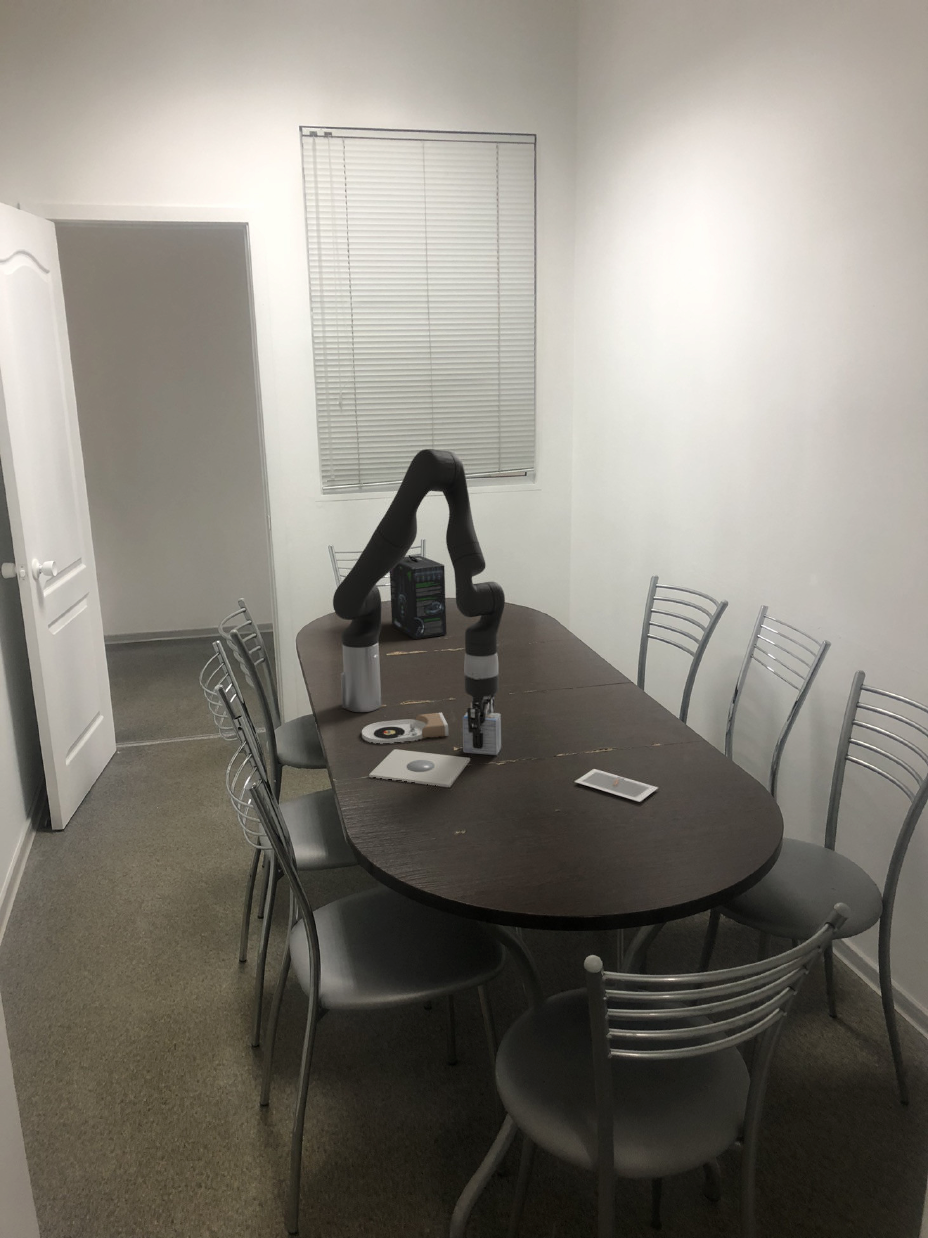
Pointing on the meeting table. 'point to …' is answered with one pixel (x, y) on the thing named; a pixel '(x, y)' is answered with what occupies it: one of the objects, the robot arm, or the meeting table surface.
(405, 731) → the record player
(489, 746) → the medicine box
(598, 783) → the touchpad
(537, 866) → the meeting table surface
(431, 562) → the headset box
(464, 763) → the white pad
